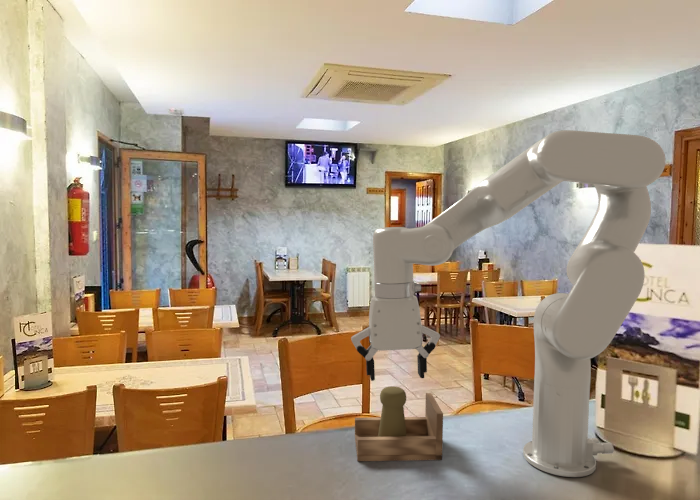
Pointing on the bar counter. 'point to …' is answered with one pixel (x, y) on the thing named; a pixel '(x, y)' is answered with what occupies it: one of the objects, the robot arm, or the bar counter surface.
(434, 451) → the walnut drawer
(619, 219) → the robot arm
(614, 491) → the bar counter surface
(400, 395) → the cork
